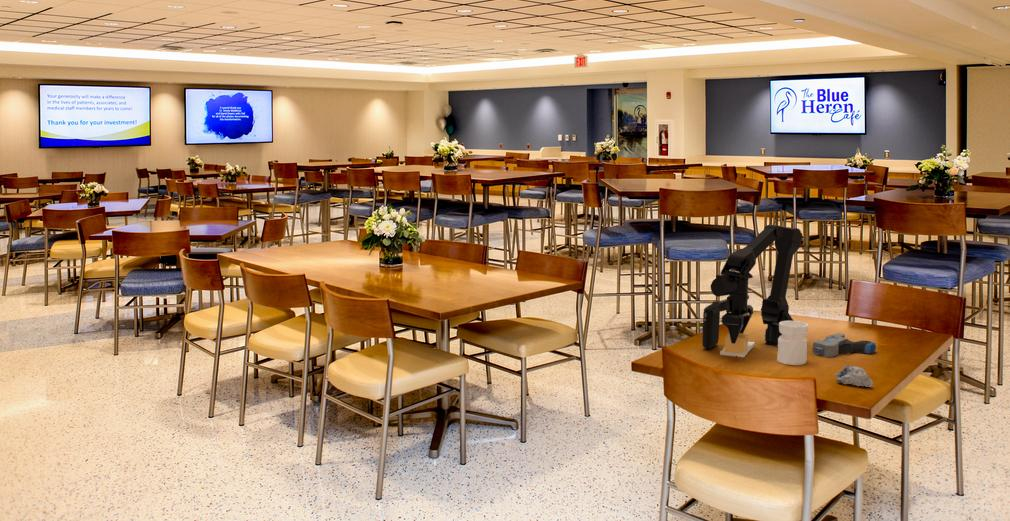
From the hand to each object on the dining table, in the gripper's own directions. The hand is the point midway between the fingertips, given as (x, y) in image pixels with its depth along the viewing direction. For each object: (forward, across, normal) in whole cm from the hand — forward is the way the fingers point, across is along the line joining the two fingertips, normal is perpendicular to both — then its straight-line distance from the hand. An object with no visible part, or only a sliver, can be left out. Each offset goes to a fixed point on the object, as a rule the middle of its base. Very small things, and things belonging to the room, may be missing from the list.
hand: (736, 340), depth 276 cm
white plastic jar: (+5, +1, +18) cm, 18 cm away
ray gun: (+5, -16, +31) cm, 35 cm away
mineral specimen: (+5, +18, +37) cm, 42 cm away
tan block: (+3, 0, 0) cm, 3 cm away
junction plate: (+4, -5, 0) cm, 6 cm away
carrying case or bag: (+5, -3, -9) cm, 11 cm away
